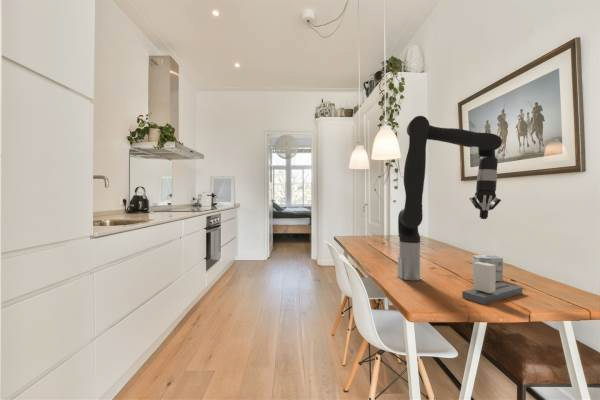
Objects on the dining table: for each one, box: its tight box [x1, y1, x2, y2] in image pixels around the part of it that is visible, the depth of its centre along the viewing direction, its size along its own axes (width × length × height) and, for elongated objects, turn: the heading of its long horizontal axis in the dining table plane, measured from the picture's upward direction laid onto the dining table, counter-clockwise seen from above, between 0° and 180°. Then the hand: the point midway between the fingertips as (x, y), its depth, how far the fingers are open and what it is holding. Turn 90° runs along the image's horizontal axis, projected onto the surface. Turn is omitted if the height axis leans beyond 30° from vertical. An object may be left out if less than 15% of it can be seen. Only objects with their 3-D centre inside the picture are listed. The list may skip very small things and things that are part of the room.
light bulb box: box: [472, 254, 504, 282], centre depth 138 cm, size 11×7×11 cm, turn 84°
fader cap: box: [472, 262, 497, 293], centre depth 112 cm, size 4×6×10 cm, turn 28°
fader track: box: [461, 281, 523, 305], centre depth 115 cm, size 26×9×3 cm, turn 118°
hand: (483, 218), depth 133 cm, fingers closed
